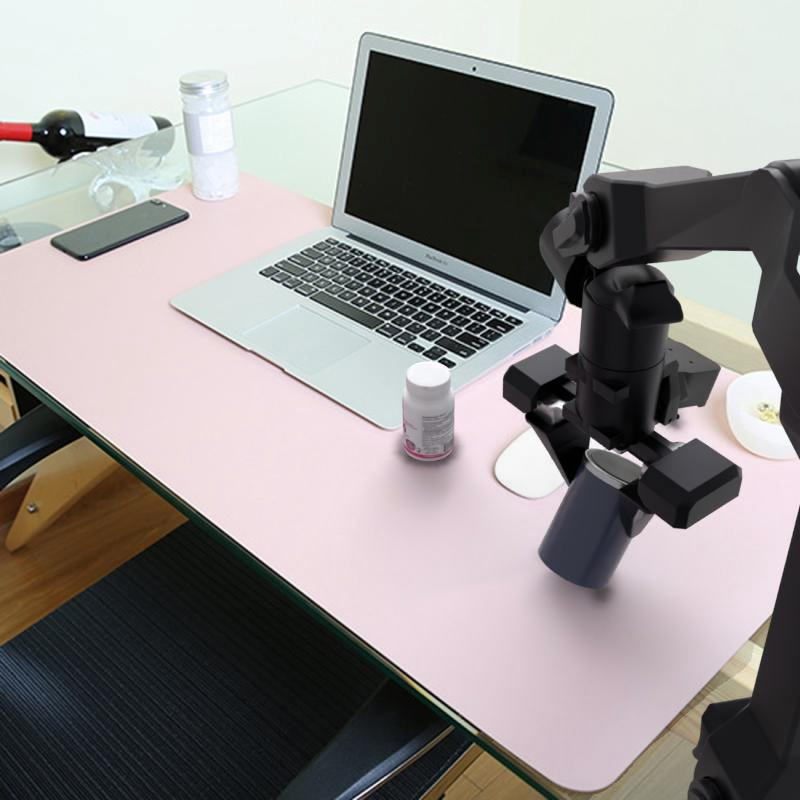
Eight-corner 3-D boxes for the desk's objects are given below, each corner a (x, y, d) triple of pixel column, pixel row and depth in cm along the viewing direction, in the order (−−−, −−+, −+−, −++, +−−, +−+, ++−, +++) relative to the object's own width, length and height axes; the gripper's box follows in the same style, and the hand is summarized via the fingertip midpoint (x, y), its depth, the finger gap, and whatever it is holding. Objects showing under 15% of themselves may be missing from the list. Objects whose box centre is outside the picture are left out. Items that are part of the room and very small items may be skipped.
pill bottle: (396, 436, 91) (394, 363, 86) (443, 426, 92) (444, 354, 87) (412, 467, 87) (411, 393, 82) (461, 457, 88) (463, 383, 83)
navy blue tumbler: (624, 587, 75) (677, 490, 72) (576, 594, 71) (630, 491, 68) (569, 541, 79) (616, 448, 77) (520, 544, 75) (568, 446, 72)
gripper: (817, 366, 61) (772, 534, 71) (611, 254, 74) (596, 410, 83) (697, 437, 57) (666, 606, 66) (498, 304, 69) (497, 463, 79)
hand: (604, 511), depth 74 cm, fingers closed on navy blue tumbler, 6 cm apart
